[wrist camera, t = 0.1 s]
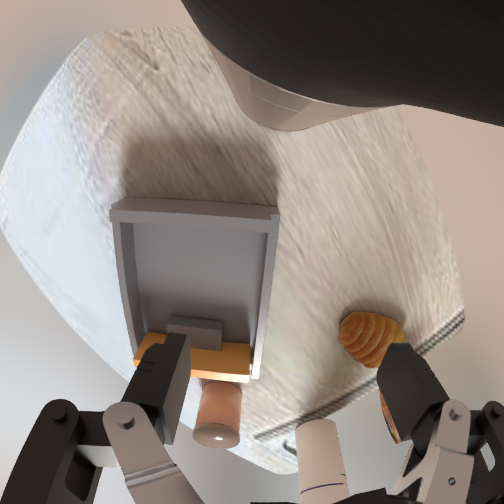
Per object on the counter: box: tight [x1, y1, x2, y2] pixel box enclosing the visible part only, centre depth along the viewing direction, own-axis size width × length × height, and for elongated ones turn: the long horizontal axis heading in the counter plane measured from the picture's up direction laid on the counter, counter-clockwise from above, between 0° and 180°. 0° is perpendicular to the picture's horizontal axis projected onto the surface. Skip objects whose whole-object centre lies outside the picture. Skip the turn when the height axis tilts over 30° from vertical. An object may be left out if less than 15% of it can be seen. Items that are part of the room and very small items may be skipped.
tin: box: [379, 388, 401, 444], centre depth 32 cm, size 15×3×8 cm, turn 22°
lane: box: [109, 197, 280, 379], centre depth 26 cm, size 19×15×5 cm
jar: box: [193, 381, 242, 449], centre depth 31 cm, size 6×6×8 cm
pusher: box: [133, 316, 251, 383], centre depth 28 cm, size 4×12×5 cm, turn 85°
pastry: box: [338, 311, 407, 368], centre depth 29 cm, size 9×7×4 cm
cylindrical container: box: [295, 419, 350, 504], centre depth 28 cm, size 7×7×25 cm
